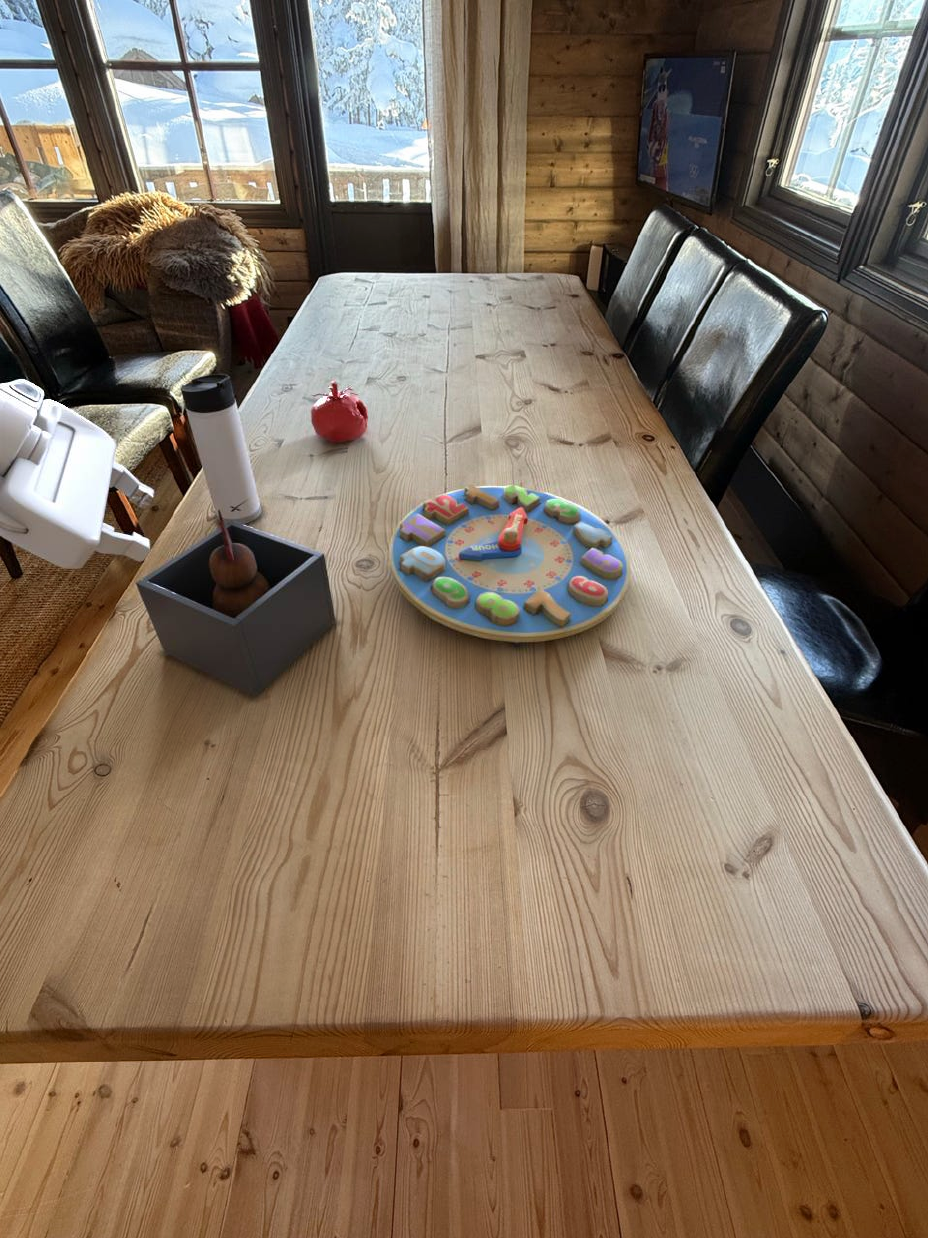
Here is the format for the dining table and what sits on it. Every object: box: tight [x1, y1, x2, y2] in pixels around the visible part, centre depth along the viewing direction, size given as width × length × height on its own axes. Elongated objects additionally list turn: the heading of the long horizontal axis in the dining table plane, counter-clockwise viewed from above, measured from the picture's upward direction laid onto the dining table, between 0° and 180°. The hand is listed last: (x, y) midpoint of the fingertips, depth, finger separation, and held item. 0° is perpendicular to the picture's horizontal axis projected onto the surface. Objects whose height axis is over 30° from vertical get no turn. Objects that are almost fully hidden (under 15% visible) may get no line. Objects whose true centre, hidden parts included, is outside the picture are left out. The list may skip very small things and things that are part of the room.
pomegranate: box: [310, 381, 369, 444], centre depth 112 cm, size 10×10×9 cm
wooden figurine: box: [209, 510, 271, 619], centre depth 70 cm, size 7×6×15 cm
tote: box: [135, 520, 337, 698], centre depth 72 cm, size 14×14×10 cm
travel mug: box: [180, 373, 262, 525], centre depth 89 cm, size 6×7×20 cm
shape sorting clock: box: [388, 484, 632, 645], centre depth 83 cm, size 31×30×6 cm
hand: (149, 525), depth 64 cm, fingers open, 8 cm apart
